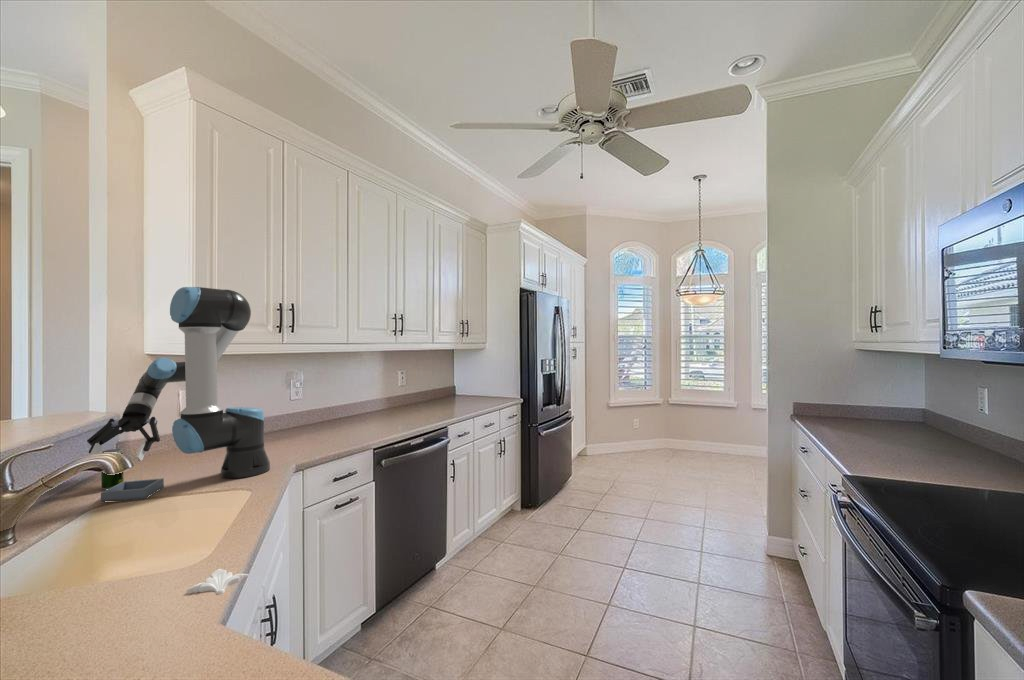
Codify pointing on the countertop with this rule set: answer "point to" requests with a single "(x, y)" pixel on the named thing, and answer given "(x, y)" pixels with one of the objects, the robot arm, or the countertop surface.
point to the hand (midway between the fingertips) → (114, 461)
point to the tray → (132, 490)
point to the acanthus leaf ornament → (217, 582)
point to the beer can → (111, 480)
